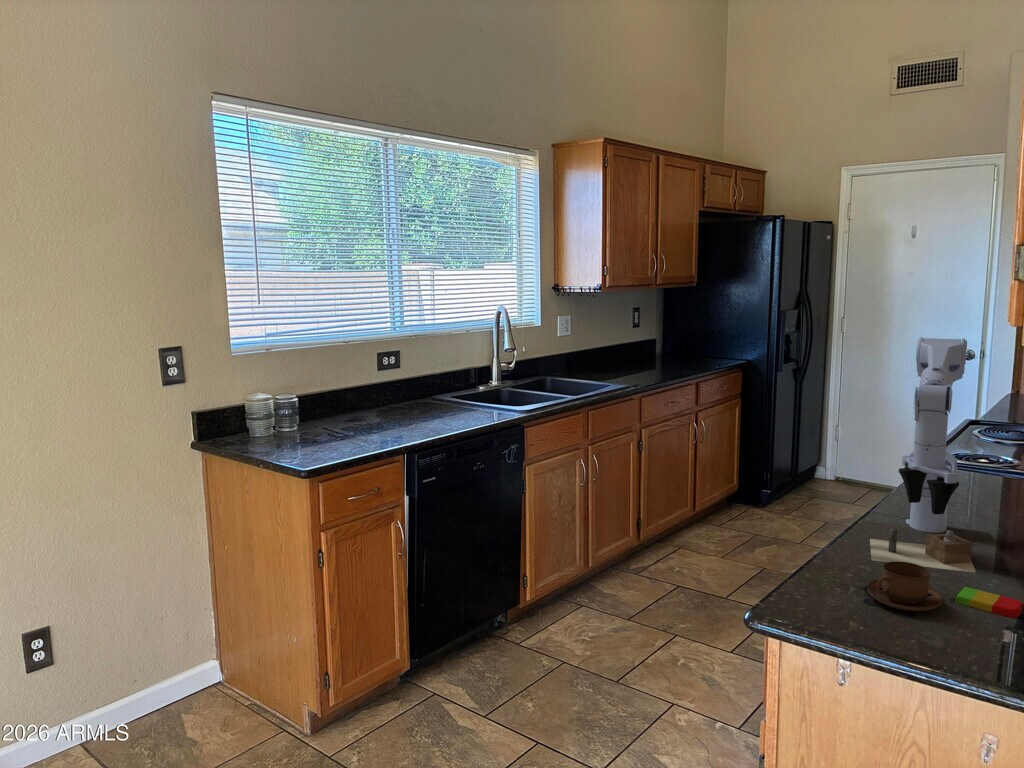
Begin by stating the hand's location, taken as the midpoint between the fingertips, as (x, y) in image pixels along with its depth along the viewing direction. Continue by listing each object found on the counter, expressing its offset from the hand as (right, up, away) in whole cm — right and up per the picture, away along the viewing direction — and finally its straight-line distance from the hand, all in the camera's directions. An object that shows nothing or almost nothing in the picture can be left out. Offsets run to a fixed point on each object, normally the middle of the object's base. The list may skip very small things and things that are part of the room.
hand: (925, 507), depth 157 cm
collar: (+2, -9, -5) cm, 11 cm away
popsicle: (-4, -14, -22) cm, 26 cm away
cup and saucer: (-16, -14, -21) cm, 30 cm away
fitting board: (-3, -10, -3) cm, 11 cm away
